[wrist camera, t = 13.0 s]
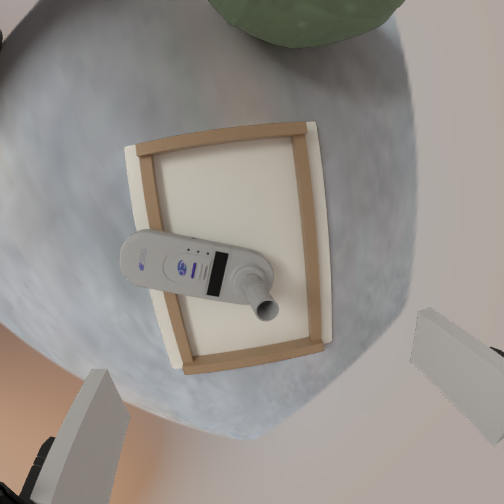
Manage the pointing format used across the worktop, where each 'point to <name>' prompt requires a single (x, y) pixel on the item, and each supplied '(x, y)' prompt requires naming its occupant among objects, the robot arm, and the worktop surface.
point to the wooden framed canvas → (240, 237)
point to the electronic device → (199, 269)
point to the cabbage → (305, 19)
